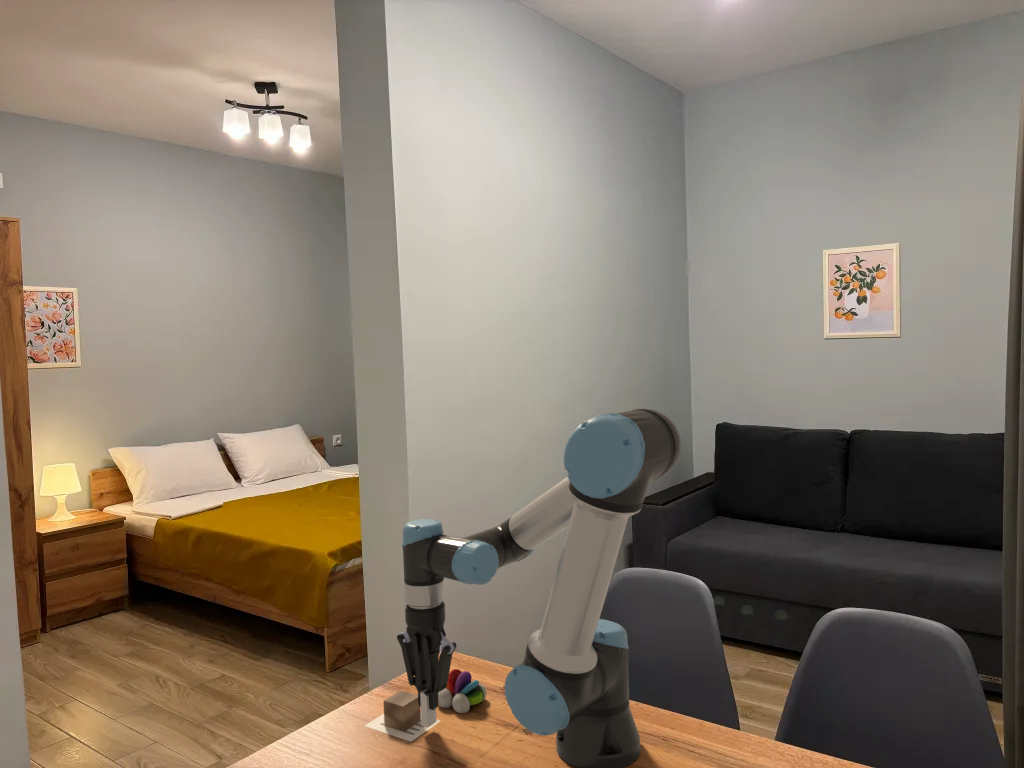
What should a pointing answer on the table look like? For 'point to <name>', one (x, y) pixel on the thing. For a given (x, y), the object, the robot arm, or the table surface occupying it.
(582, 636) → the robot arm
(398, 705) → the walnut block
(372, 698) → the table surface
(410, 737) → the letter
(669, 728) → the table surface
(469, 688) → the rainbow petal toy
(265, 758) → the table surface
